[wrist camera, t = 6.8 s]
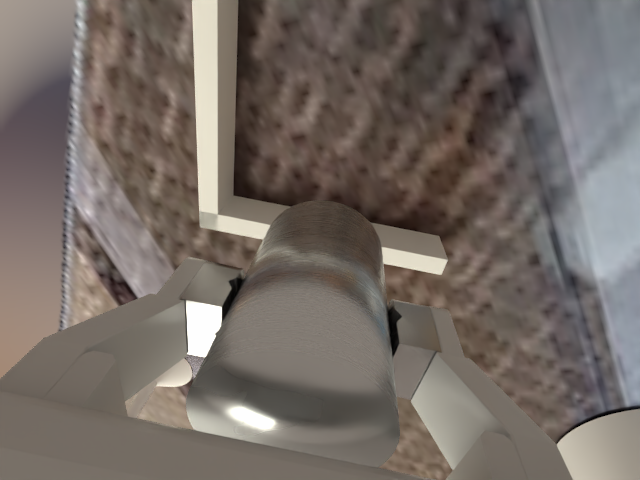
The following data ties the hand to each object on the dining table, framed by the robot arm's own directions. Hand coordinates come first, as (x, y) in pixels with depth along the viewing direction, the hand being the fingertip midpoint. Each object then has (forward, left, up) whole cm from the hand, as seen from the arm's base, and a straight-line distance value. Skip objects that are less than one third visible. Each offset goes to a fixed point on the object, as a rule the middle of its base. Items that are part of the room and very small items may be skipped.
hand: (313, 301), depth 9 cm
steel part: (0, 0, -3) cm, 3 cm away
